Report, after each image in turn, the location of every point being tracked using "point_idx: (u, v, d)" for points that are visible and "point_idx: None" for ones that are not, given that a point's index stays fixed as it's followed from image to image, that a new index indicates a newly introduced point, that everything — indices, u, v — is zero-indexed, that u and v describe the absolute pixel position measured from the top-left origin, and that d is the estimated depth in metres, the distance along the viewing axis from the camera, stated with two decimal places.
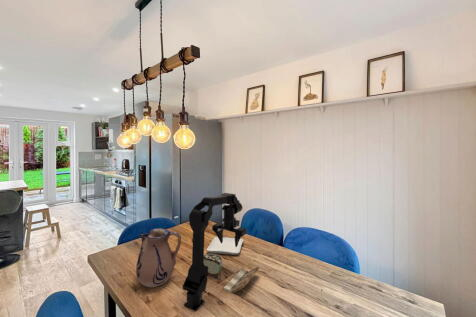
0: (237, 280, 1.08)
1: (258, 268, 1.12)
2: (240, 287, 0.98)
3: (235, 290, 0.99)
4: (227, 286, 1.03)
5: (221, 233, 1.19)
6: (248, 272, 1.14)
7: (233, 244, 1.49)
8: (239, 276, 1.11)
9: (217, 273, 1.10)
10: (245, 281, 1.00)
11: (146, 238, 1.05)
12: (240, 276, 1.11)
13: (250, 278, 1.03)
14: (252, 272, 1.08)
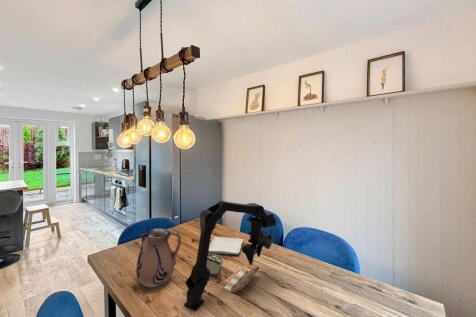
0: (237, 280, 1.08)
1: (258, 268, 1.12)
2: (240, 287, 0.98)
3: (235, 290, 0.99)
4: (227, 286, 1.03)
5: (259, 246, 1.11)
6: (248, 272, 1.14)
7: (233, 244, 1.49)
8: (239, 276, 1.11)
9: (217, 273, 1.10)
10: (245, 281, 1.00)
11: (146, 238, 1.05)
12: (240, 276, 1.11)
13: (250, 278, 1.03)
14: (252, 272, 1.08)
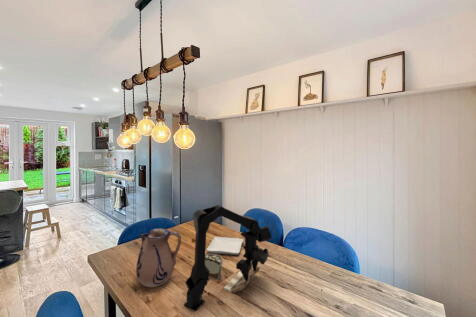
0: (237, 280, 1.08)
1: (258, 269, 1.12)
2: (240, 288, 0.98)
3: (235, 290, 0.99)
4: (227, 286, 1.03)
5: (255, 260, 1.09)
6: None
7: (233, 244, 1.49)
8: (239, 276, 1.11)
9: (217, 273, 1.10)
10: (246, 282, 1.00)
11: (146, 238, 1.05)
12: (240, 276, 1.11)
13: (250, 279, 1.03)
14: (253, 273, 1.08)
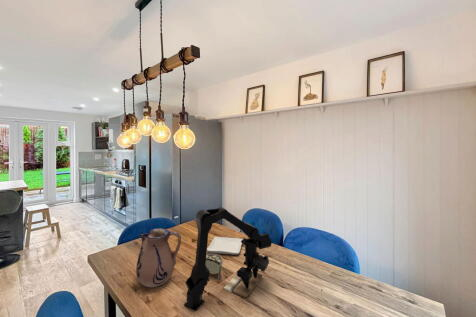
0: (237, 280, 1.08)
1: (261, 276, 1.11)
2: (243, 295, 0.97)
3: (237, 293, 0.99)
4: (227, 286, 1.03)
5: (255, 267, 1.09)
6: None
7: (233, 244, 1.49)
8: None
9: (217, 273, 1.10)
10: (249, 290, 0.99)
11: (146, 238, 1.05)
12: None
13: (253, 287, 1.03)
14: (256, 280, 1.07)
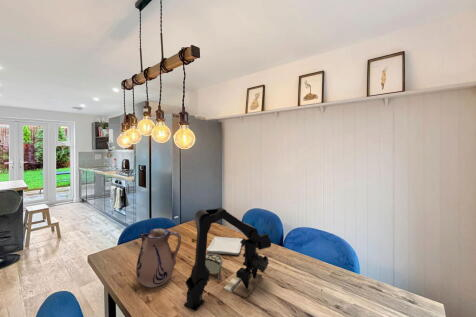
0: (237, 280, 1.08)
1: (261, 277, 1.11)
2: (243, 295, 0.97)
3: (237, 293, 0.99)
4: (227, 286, 1.03)
5: (254, 267, 1.09)
6: None
7: (233, 244, 1.49)
8: None
9: (217, 273, 1.10)
10: (249, 291, 0.99)
11: (146, 238, 1.05)
12: None
13: (253, 288, 1.03)
14: (256, 280, 1.07)
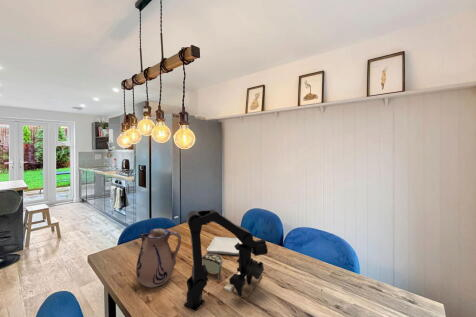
0: None
1: (261, 277, 1.11)
2: (243, 295, 0.97)
3: (237, 293, 0.99)
4: (227, 286, 1.03)
5: (249, 273, 1.04)
6: None
7: (233, 244, 1.49)
8: None
9: (217, 273, 1.10)
10: (250, 292, 0.99)
11: (146, 238, 1.05)
12: None
13: (253, 288, 1.03)
14: (256, 281, 1.07)
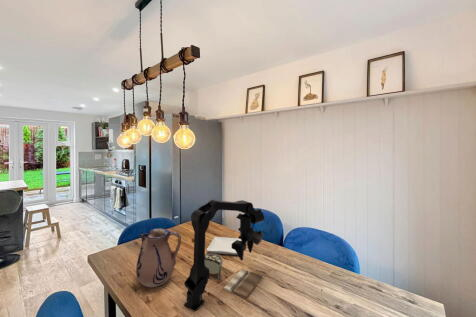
0: (237, 280, 1.08)
1: (261, 277, 1.11)
2: (243, 295, 0.97)
3: (237, 293, 0.99)
4: (227, 286, 1.03)
5: (250, 242, 1.14)
6: (250, 273, 1.14)
7: None
8: (239, 276, 1.11)
9: (217, 273, 1.10)
10: (250, 292, 0.99)
11: (146, 238, 1.05)
12: (240, 276, 1.11)
13: (253, 288, 1.03)
14: (256, 281, 1.07)
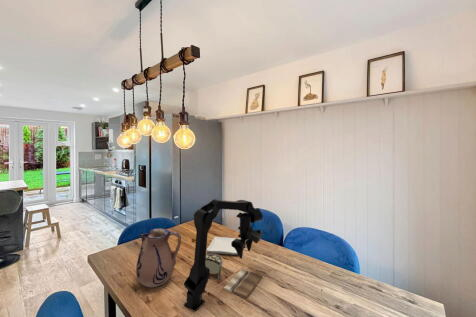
0: (237, 280, 1.08)
1: (261, 277, 1.11)
2: (243, 295, 0.97)
3: (237, 293, 0.99)
4: (227, 286, 1.03)
5: (249, 241, 1.16)
6: (250, 273, 1.14)
7: None
8: (239, 276, 1.11)
9: (217, 273, 1.10)
10: (250, 292, 0.99)
11: (146, 238, 1.05)
12: (240, 276, 1.11)
13: (253, 288, 1.03)
14: (256, 281, 1.07)
